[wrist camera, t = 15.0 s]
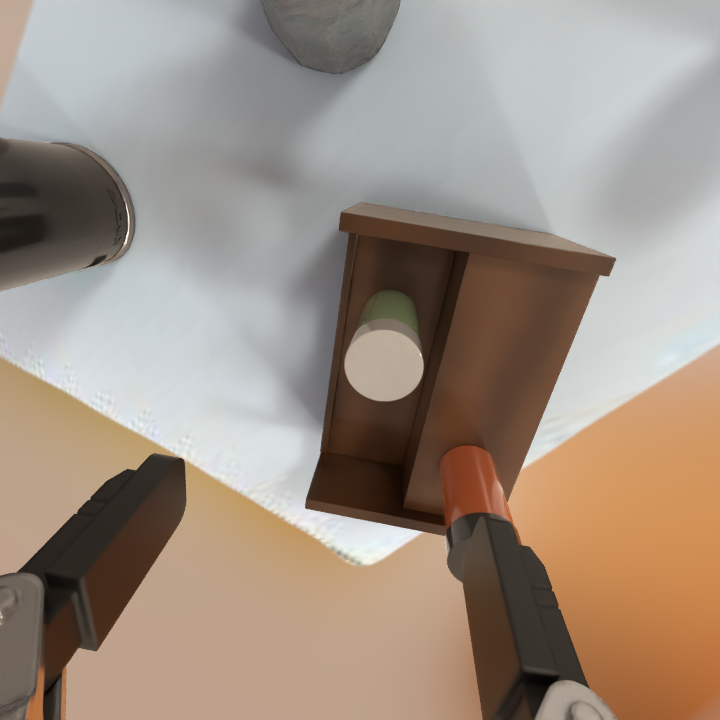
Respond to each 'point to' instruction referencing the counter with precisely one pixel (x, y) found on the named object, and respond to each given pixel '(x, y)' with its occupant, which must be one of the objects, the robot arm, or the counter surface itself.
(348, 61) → the moka pot
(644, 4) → the counter surface
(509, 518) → the pepper shaker
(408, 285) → the spice rack
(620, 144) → the counter surface
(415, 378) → the cylinder
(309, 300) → the counter surface
